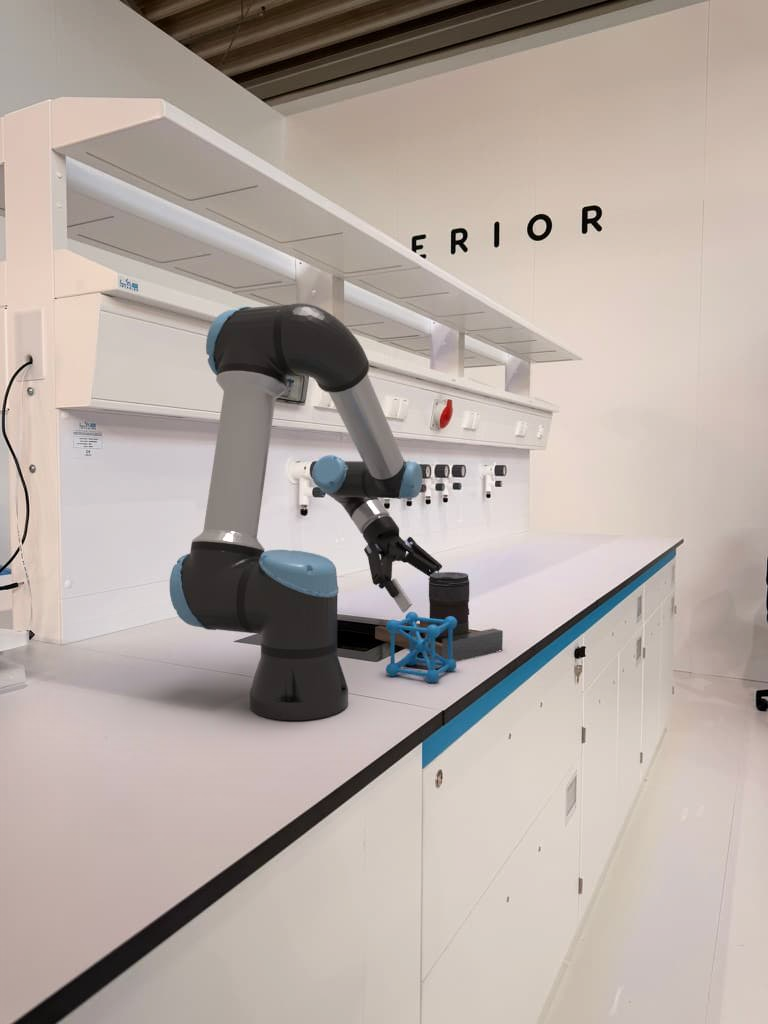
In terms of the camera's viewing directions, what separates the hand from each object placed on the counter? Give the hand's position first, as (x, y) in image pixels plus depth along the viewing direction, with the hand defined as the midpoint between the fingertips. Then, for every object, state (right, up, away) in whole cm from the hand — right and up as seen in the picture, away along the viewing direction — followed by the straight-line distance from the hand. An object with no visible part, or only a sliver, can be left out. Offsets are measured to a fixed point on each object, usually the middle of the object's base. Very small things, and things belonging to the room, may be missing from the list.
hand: (429, 603), depth 151 cm
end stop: (+8, -9, -9) cm, 15 cm away
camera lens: (+3, -9, -4) cm, 10 cm away
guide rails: (0, -8, +1) cm, 8 cm away
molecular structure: (-3, -10, -21) cm, 23 cm away
